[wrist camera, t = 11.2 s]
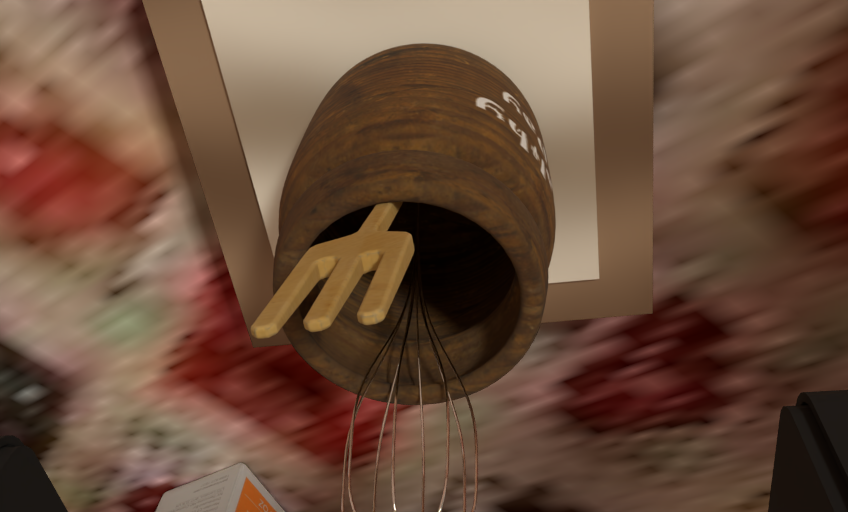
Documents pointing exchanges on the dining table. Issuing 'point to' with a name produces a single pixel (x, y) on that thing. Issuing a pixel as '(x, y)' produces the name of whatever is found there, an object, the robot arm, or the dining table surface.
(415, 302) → the utensil holder
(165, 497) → the skincare box
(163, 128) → the dining table surface
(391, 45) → the picture frame
